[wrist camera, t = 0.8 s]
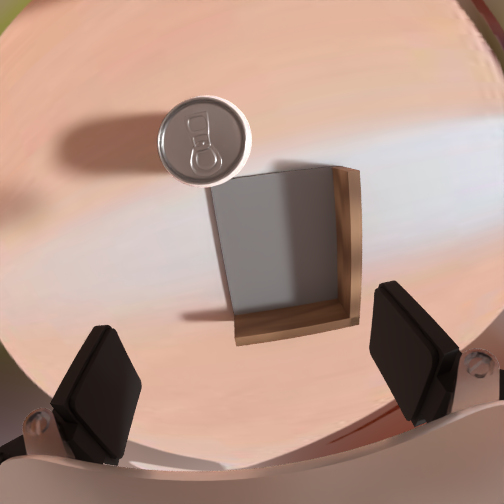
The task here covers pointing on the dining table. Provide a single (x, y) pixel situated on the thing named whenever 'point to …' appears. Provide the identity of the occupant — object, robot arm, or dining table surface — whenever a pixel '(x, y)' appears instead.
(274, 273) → the mat
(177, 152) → the can
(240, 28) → the dining table surface
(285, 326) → the corner walls
